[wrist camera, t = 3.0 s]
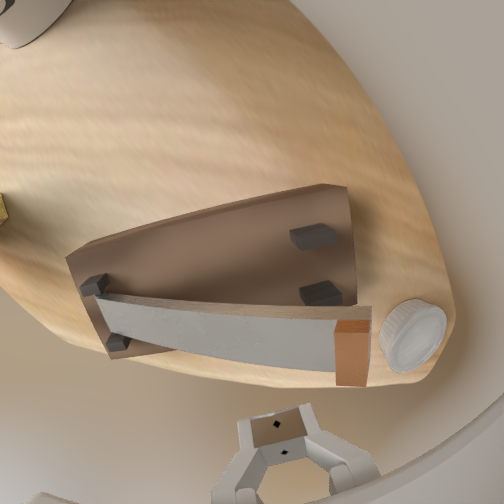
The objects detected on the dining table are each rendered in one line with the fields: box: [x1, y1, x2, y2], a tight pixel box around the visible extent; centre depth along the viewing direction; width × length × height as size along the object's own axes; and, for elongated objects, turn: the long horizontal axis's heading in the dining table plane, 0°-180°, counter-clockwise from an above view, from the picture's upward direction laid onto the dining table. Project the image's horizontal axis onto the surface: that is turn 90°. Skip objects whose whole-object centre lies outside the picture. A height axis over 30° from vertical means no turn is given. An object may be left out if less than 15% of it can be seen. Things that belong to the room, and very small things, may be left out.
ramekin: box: [379, 299, 447, 373], centre depth 34 cm, size 11×11×5 cm
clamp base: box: [65, 184, 357, 359], centre depth 25 cm, size 12×27×9 cm, turn 102°
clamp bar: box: [94, 290, 372, 387], centre depth 17 cm, size 4×23×2 cm
